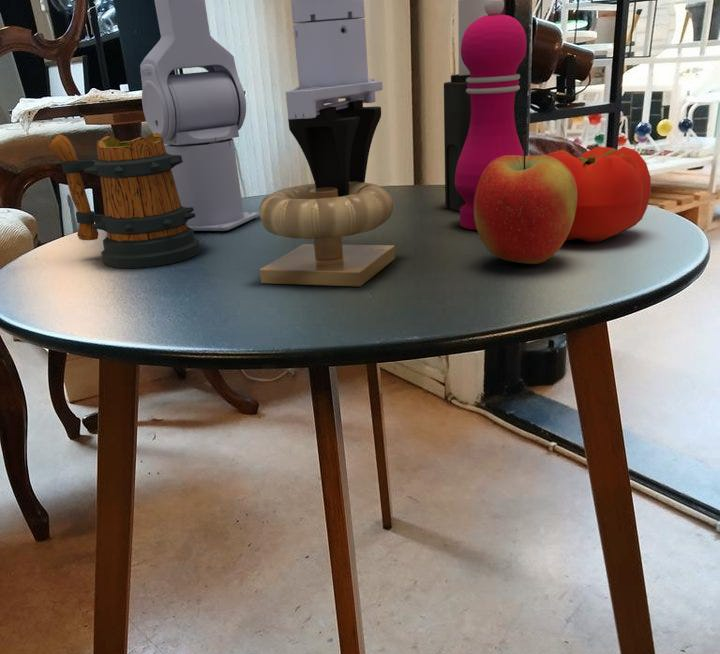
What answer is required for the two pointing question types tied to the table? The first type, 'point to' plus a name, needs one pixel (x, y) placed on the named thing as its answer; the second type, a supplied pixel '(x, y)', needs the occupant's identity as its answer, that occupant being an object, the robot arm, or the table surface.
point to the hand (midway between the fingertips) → (342, 201)
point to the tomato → (607, 191)
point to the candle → (458, 106)
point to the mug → (131, 201)
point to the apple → (525, 207)
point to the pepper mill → (489, 98)
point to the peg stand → (328, 259)
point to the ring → (325, 212)
